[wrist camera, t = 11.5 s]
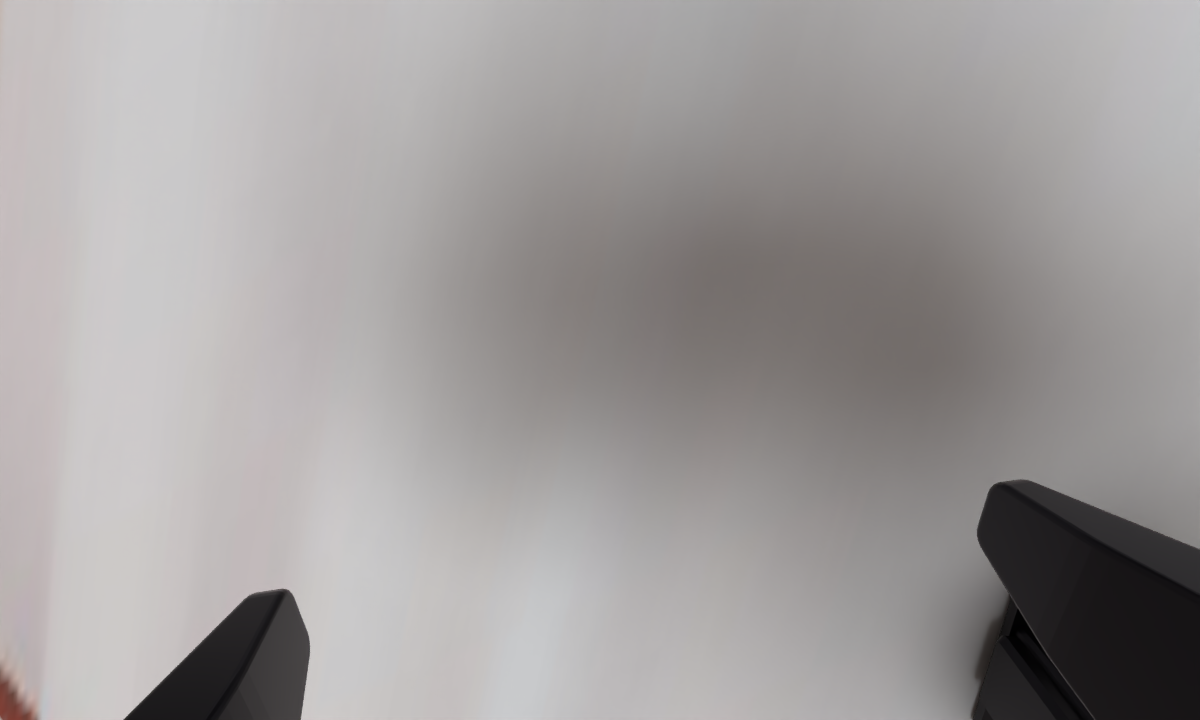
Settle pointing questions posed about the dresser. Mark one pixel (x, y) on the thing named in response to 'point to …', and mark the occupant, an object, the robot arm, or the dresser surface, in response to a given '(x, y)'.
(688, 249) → the dresser surface
